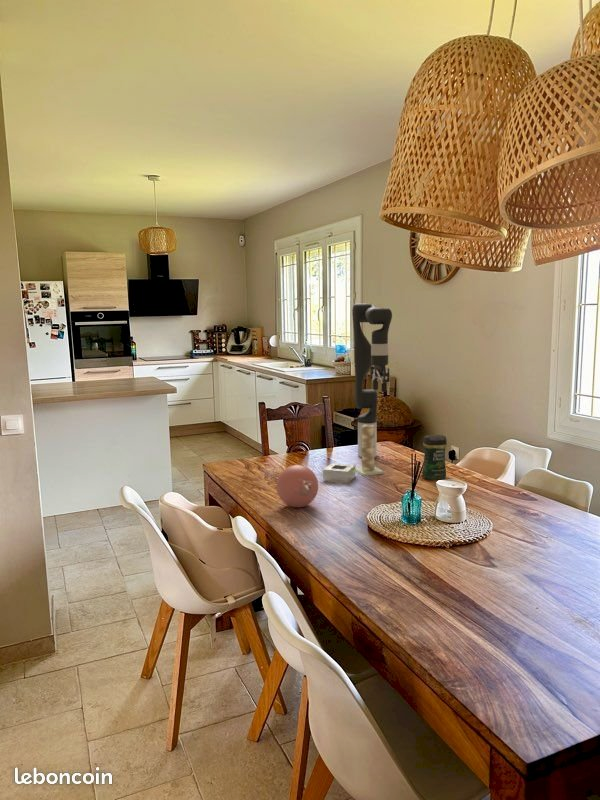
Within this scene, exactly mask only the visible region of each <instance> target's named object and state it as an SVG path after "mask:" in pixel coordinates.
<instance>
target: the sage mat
mask: <svg viewBox="0 0 600 800" xmlns="http://www.w3.org/2000/svg"><path fill="white" fill-rule="evenodd" d="M357 472H358V474H359V475H360V476H362V475H363V476H362V477H364V475H365V476H373V475H383V474H384V470H382V469H380V468H379V467H376V466H375V465H374V470H373V471H362V466H360V467H355V473H357Z"/></svg>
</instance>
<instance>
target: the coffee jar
mask: <svg viewBox="0 0 600 800" xmlns="http://www.w3.org/2000/svg"><path fill="white" fill-rule="evenodd" d="M447 443H448V442H447V437H446V436H445V435H442V434H431V435H424V437H423V441H422V444H423V445H422V446H423V448H424V455H423V456H424V457H423V465H422V470H421V471H422V472H421V473H422V477H423V478H424V479H427V480H430V481H431V480H432V481H433V479H436V480H445V478H446V477H447V468H446V449H447V446H448V444H447ZM438 478H440V479H438Z"/></svg>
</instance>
